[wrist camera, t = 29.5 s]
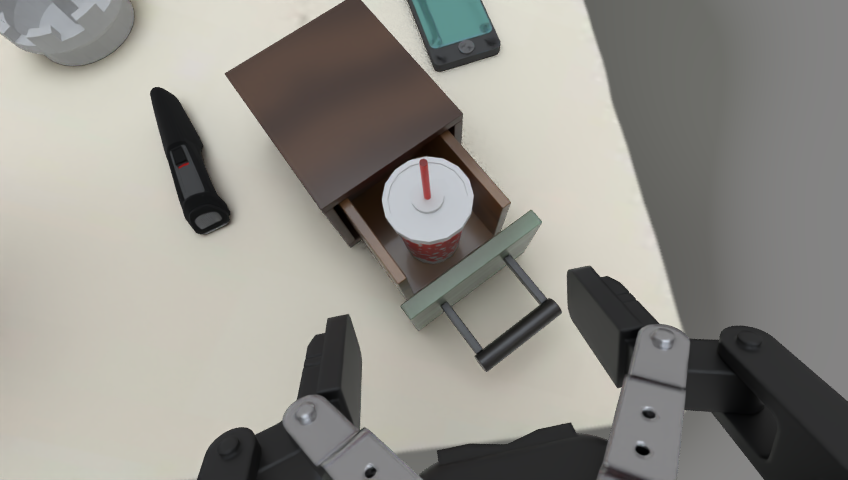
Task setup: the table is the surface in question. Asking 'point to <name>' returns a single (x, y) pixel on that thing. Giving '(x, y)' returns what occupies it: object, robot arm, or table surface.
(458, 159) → the drawer
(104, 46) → the flag stand
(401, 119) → the cabinet
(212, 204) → the electric trimmer
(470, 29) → the smartphone
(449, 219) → the beverage cup
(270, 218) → the table surface
